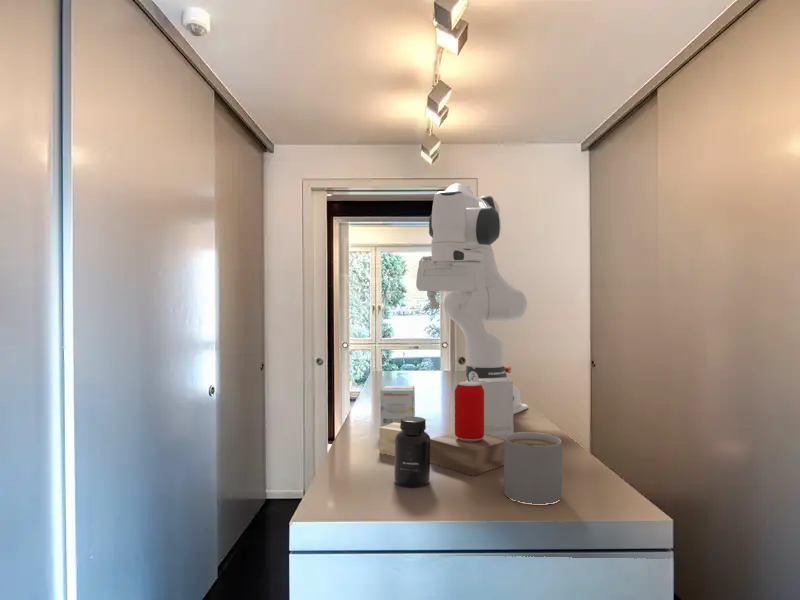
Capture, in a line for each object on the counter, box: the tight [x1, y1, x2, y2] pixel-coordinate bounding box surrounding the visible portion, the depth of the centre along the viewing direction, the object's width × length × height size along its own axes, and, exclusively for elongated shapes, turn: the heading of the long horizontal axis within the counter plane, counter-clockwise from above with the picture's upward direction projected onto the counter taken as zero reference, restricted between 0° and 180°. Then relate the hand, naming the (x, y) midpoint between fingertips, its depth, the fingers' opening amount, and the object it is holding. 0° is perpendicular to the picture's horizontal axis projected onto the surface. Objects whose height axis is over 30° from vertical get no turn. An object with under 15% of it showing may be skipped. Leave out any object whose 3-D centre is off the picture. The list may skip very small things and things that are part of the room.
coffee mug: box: [503, 431, 563, 504], centre depth 95 cm, size 13×10×10 cm
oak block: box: [379, 422, 401, 457], centre depth 119 cm, size 6×6×6 cm
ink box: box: [379, 385, 416, 427], centre depth 138 cm, size 9×9×12 cm
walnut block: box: [430, 432, 504, 477], centre depth 111 cm, size 12×12×5 cm
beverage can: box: [454, 381, 484, 442], centre depth 111 cm, size 6×6×12 cm
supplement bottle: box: [393, 416, 431, 488], centre depth 100 cm, size 7×7×12 cm
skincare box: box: [477, 376, 515, 438], centre depth 132 cm, size 8×6×15 cm
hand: (448, 309), depth 132 cm, fingers open, 8 cm apart
